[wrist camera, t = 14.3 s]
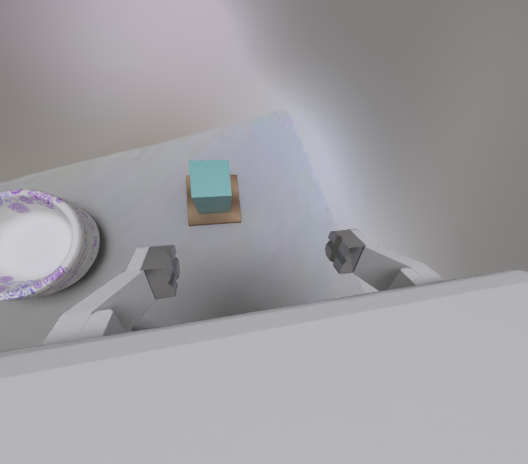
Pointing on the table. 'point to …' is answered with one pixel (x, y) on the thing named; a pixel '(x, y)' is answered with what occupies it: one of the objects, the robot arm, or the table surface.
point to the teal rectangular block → (210, 186)
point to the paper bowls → (43, 244)
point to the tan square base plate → (214, 218)
